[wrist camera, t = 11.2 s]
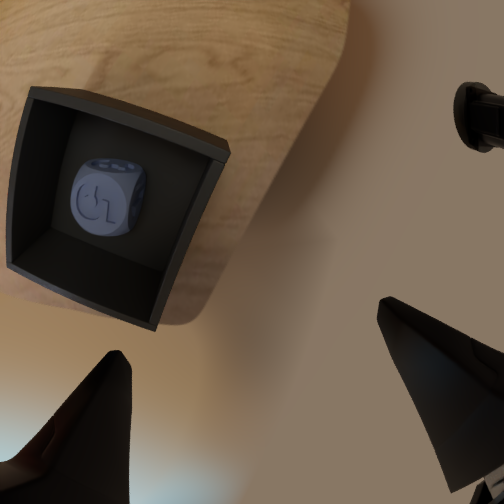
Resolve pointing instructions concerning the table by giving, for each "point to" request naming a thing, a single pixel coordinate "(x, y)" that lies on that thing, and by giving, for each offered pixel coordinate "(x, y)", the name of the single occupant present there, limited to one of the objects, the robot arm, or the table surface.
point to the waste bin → (151, 213)
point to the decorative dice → (108, 196)
